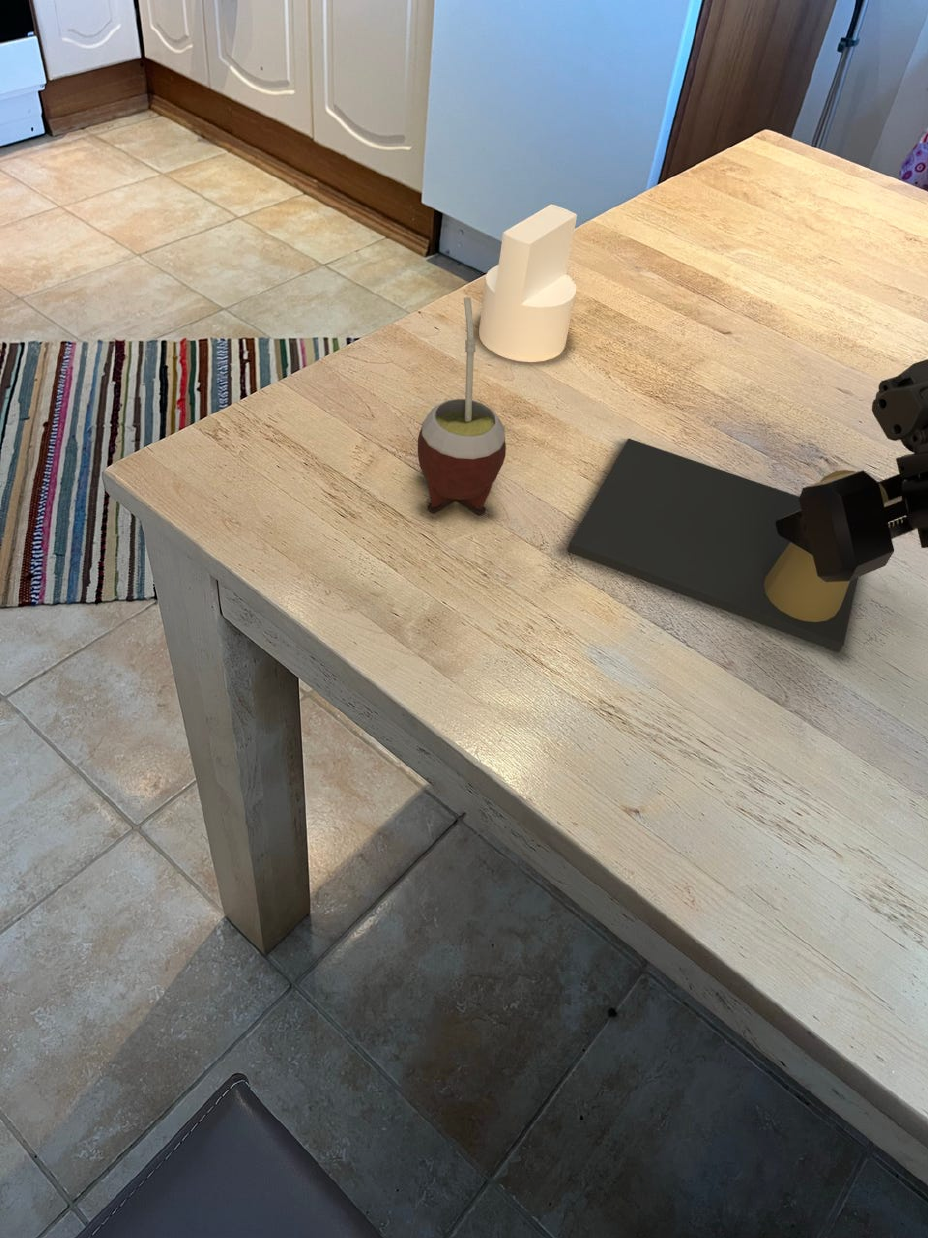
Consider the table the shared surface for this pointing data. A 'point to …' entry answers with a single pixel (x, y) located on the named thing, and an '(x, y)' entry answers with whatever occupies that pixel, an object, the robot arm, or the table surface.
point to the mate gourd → (461, 444)
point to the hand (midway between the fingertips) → (823, 510)
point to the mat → (698, 536)
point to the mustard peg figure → (805, 582)
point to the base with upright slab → (531, 289)
